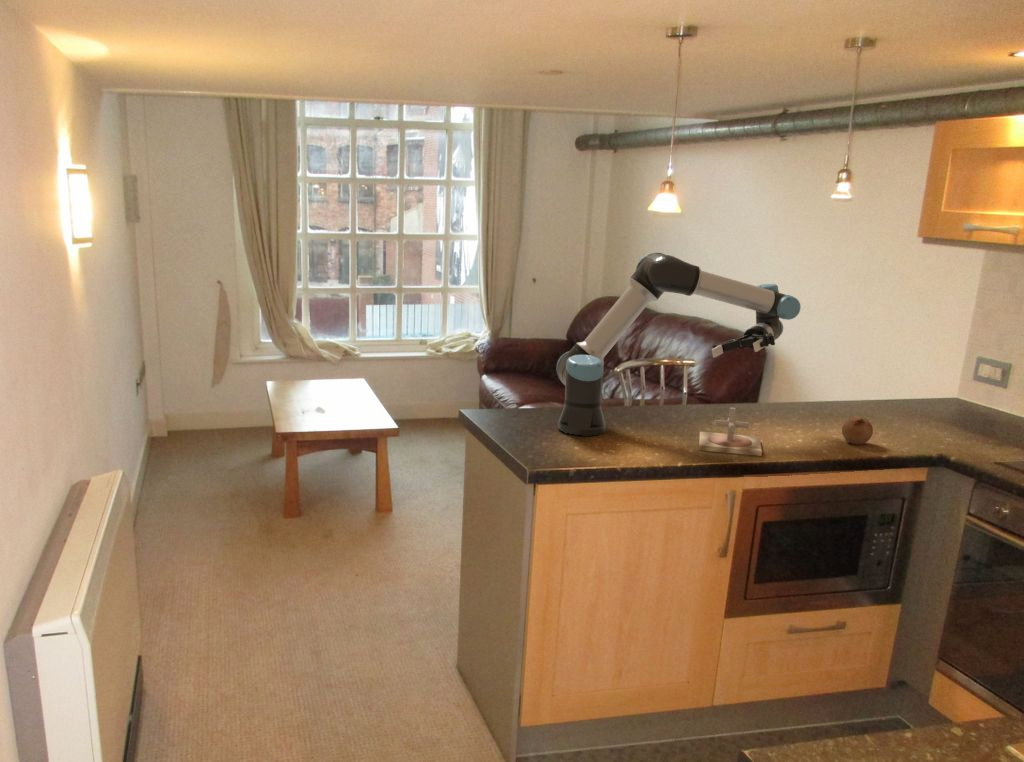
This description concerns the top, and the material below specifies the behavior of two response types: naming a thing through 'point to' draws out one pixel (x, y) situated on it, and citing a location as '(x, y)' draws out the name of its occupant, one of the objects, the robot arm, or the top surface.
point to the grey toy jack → (731, 424)
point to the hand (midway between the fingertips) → (733, 350)
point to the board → (730, 443)
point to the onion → (857, 430)
